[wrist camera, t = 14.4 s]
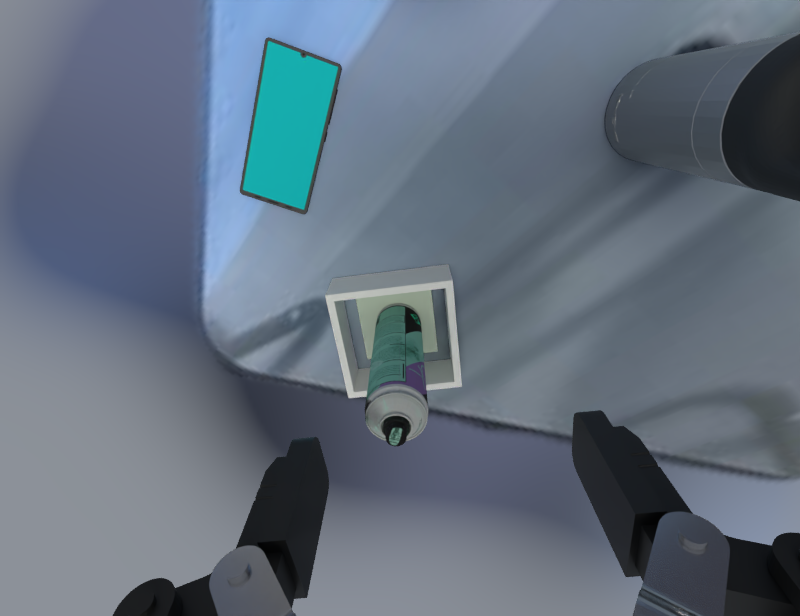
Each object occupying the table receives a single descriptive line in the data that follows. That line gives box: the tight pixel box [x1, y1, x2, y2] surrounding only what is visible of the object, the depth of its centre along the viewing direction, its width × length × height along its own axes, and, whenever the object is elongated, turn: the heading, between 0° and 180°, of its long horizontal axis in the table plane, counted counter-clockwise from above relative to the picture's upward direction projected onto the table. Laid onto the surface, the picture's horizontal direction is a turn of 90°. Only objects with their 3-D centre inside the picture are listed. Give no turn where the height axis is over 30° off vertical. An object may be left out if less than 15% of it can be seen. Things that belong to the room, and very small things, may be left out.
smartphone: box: [240, 38, 342, 214], centre depth 43 cm, size 7×1×15 cm
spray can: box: [365, 303, 428, 446], centre depth 43 cm, size 6×6×20 cm
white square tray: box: [325, 264, 462, 398], centre depth 50 cm, size 14×14×5 cm
